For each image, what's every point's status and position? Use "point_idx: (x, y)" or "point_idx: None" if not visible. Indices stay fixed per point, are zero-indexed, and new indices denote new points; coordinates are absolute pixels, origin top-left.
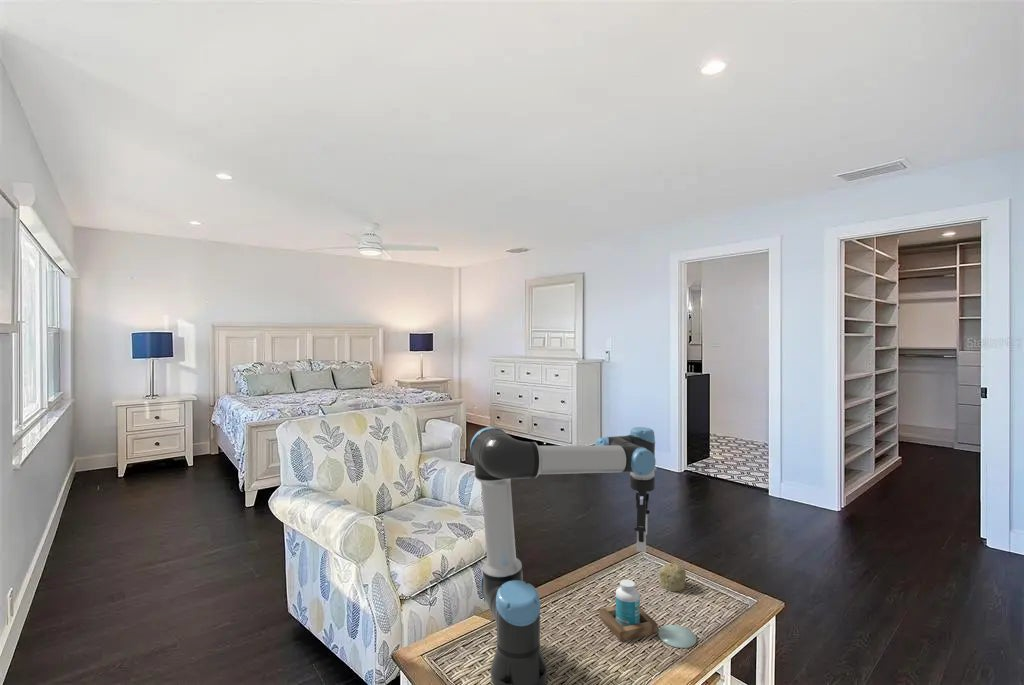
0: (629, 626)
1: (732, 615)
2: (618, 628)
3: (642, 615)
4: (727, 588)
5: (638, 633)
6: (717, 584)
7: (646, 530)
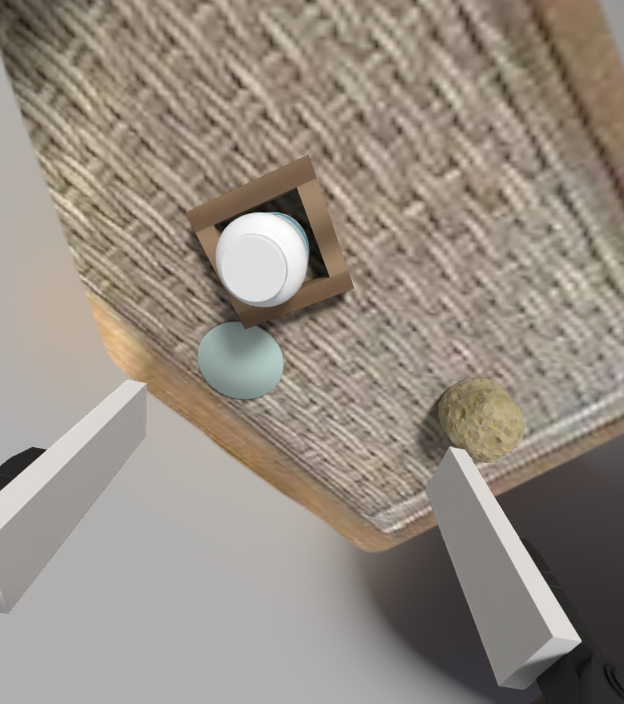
0: None
1: (332, 481)
2: (203, 210)
3: None
4: None
5: None
6: None
7: (436, 512)
